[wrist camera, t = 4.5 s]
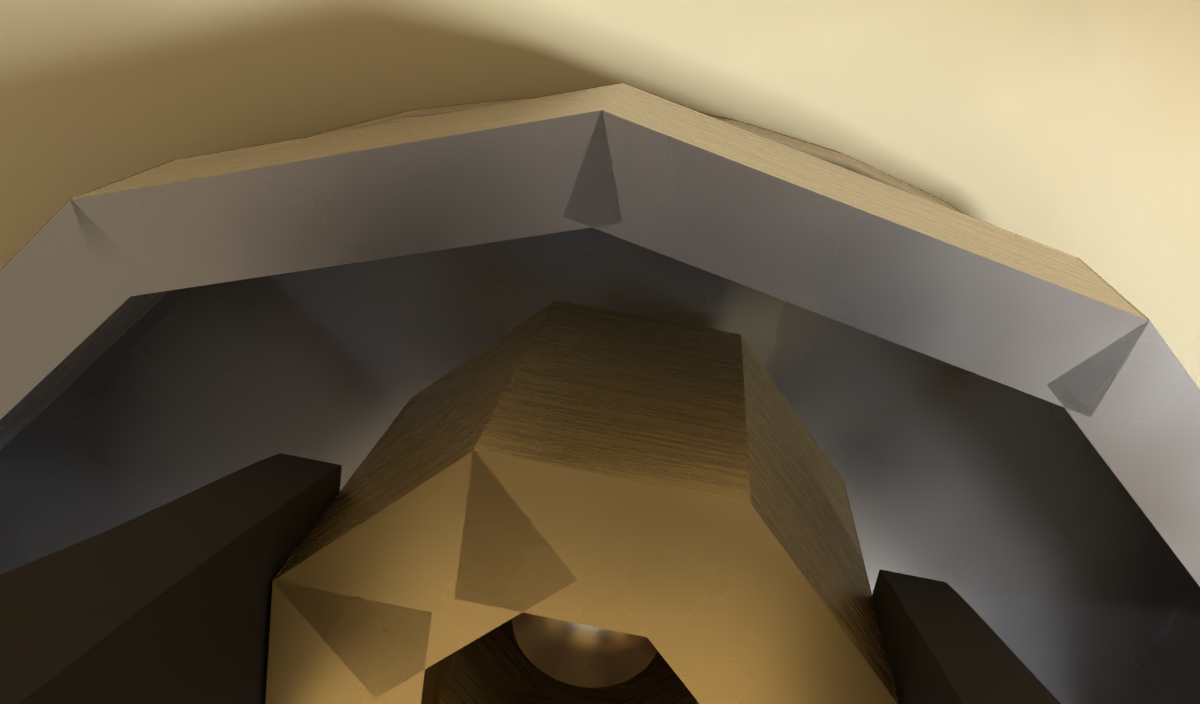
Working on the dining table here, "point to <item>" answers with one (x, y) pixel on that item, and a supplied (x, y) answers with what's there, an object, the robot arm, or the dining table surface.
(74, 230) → the carrier
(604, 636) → the pin
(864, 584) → the planet gear
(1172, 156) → the dining table surface
